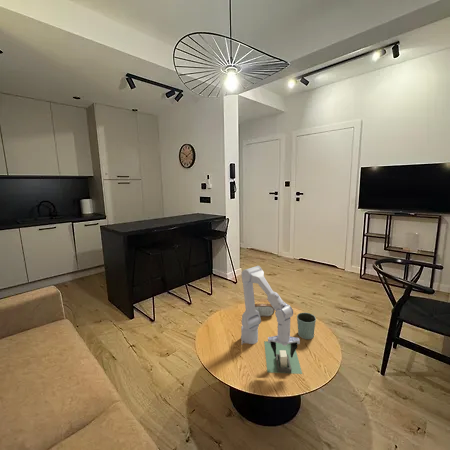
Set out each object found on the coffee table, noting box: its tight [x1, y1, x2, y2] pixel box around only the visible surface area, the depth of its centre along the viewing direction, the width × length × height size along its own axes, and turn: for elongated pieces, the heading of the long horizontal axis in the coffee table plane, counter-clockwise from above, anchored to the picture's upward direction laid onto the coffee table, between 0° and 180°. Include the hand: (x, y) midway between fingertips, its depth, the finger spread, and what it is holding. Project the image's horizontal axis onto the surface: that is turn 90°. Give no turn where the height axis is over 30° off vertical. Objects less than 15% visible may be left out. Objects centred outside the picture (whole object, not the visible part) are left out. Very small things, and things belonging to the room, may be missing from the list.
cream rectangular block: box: [279, 350, 287, 368], centre depth 119 cm, size 3×5×6 cm, turn 175°
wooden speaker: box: [255, 303, 276, 317], centre depth 162 cm, size 15×3×8 cm, turn 87°
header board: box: [263, 340, 303, 375], centre depth 124 cm, size 16×22×3 cm
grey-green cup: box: [296, 312, 317, 340], centre depth 140 cm, size 10×10×12 cm
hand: (283, 355), depth 118 cm, fingers open, 7 cm apart
